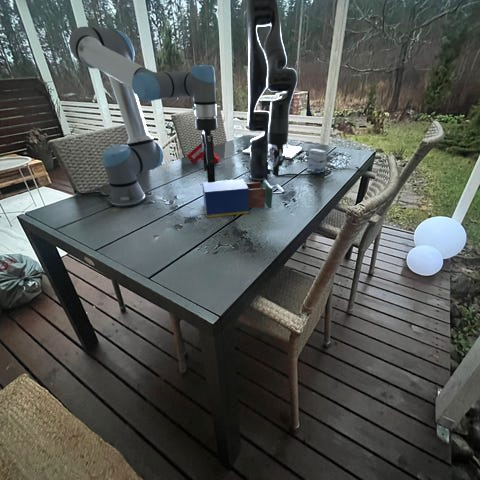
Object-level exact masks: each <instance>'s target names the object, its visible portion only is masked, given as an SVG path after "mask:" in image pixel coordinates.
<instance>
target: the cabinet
mask: <svg viewBox="0 0 480 480" xmlns="http://www.w3.org/2000/svg"><path fill="white" fill-rule="evenodd" d="M201 183H202V196H203V207H204V212H205V216H206V218H215V217H216V218H217V217H227V216H237V215H245V214H249V213H250V211H249V210H250V208H249V188H248V186H247V185H246V183H247V182H245V180H244V179H243V178H239V179H226V180H215V182H210V183H208V181H202V182H201Z"/></svg>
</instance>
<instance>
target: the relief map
mask: <svg viewBox="0 0 480 480" xmlns="http://www.w3.org/2000/svg"><path fill="white" fill-rule="evenodd" d="M302 147H303V146H294V145H292V144H290V143H289V142H288V141H287V144H285V145H283V154H282V155H285V159H286V160H287V159H288V160H292V159H293V158H295V157H296V156H297V155H298V154H299V153H300V152H302V151H303V150H304V148H303V149H302ZM250 148H251V145H250V146H249V147H248V148H247V149H245V150H242V153H243V154H247V155H248V154H249V155H250ZM270 148H272V145H271V144H269V145H268V157H270V151H269V149H270ZM296 153H297V154H296Z"/></svg>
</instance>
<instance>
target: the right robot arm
mask: <svg viewBox="0 0 480 480" xmlns="http://www.w3.org/2000/svg"><path fill="white" fill-rule="evenodd" d="M279 10H280V9H279V3H278V0H247V2H246V21H247V42H248V62H247V63H248V66H247V81H248V82H247V84H248V109H247V111H248V112H247V128H248V130H249V131H250V132H256V133H257V132H259V133H260V132H261V134H260V135H259V136H256V137H254V138H251V139H250V146H251V148H250V154H249V157H250V158H249V160H250V161H249V165H250V166H249V167H250V168H249V171H248V173H249V178H250V180H253V181H256V182H261V181H263V180H268V179H269V175H271V172H272V176H274V177H285V176H298V177H301V176H302V177H303V176H304V177H305V176H315V175H321V174H323V173H324V174H325V173H328V172H331V171H334V170H337V169H336V168H335V167H332V168H333V169H331V168H329V169H330V170H328V169H326V170H327V171H325V170H324V172H320V173H316V172H313V173H314V174H310V173H283V174H280V167H282V165H283V164H284V162H285V159H286V158H285V155H282V154H283V145H285V144H287V142H288V140H289V128H290V120H289V119H290V107H291V103H292V99H293V96H294V92H295V91H296V87H297V83H298V73H297V71H296V70H295V69H294V67H293V68H292V67H286V66H287V64H288V63H287V62H288V59H287V54H286V51H285V46H284V43H283V38H282V37H283V36H282V27H281V20H280V19H281V17H280V11H279ZM268 26H270V29H269V31H268V34H267V36H266V38H265V40H264V44H263V47H262V45H261V42H260V40H259V36H258V27H268ZM266 89H268V90H269V91H270V92H271V93H275V92H276V93H279V92H280V93H281V92H282V95H281V96H280V97H278V98H275V99H273V100H271V101H270V105H269V111H267V110H256V108H257V104H258V103H259V101H260V99H261V97H262V95H263V94H264V92H265V91H266ZM269 144H271V145H272V148H270V149H269V151H270V156H268V145H269ZM269 158H270V163H271V166H272V169H271V166H270V165H269ZM355 169H357V170H360V167H358V166H357V167H355Z"/></svg>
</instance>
